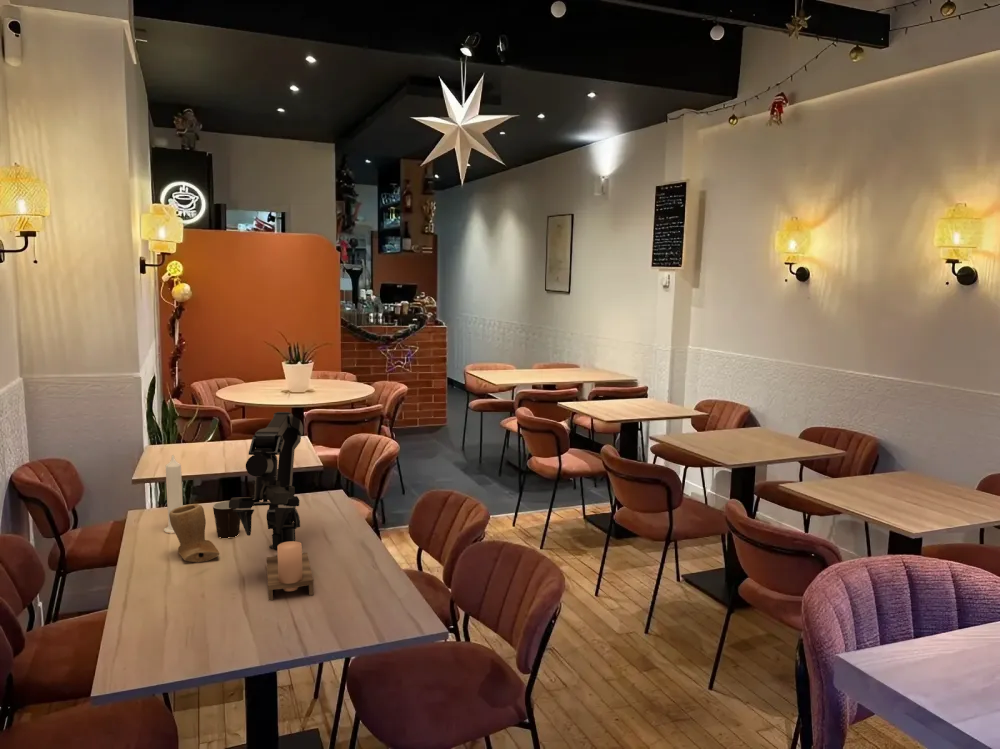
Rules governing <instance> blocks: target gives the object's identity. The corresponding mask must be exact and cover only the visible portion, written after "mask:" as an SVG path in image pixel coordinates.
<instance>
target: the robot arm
mask: <svg viewBox="0 0 1000 749" xmlns="http://www.w3.org/2000/svg"><path fill="white" fill-rule="evenodd" d="M303 434H304V425H303V423H302V421H301V419H300V418H298V417H296V416H294V414H293V412H291V411H290V412H289V411H277V412H274V413H273V418H272V419H271V420H270V422H269V423H268V425H266V427H265V428H260V429H258V430H257V431H256V432H255V433H254V434H253V435H252V438H251V442H250V446H249V450H248V455H249V456H250V457H249V458H248V459H247V460H246V463H245V470H246V472H247V473H248V474H249V475H250V476H252V477H254V480H252V482H251V483H252V485H254V495H251V497H247V496H246V497H240V496H239V497H231V498H230V500H228V501H229V508H236V509H233V511H236V513H237V514H238V516H239V518H240V523H241V524H242V526H243V529H244V531H245V534H246V536H248V537H249V536H251V535H252V534H251V533H252V516H253V513H254V512H255V509H254V508H253V509H252V507H256V506H257V507H258V506H259V507H262V506H263V507H264V506H268V509H267V511H266V524H267V530H272V534H271V535H272V536H271V538H272V543H271V544H270V545H269V548H271V549H275V550H277V546H278V545H279V544H281V543H283V542H289V541H296V529H297V528H300V527H301V519H300V515H299V511H298V510H297V507H300V498H299V496H297V495H295V493H296V491H295V490H296V489H295V486H293V475H294V464H295V463H294V461H295V450H296V449H297V447H298V446H299V445H300V443H301V440H302V436H303Z"/></svg>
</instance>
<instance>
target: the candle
mask: <svg viewBox="0 0 1000 749" xmlns="http://www.w3.org/2000/svg"><path fill="white" fill-rule="evenodd" d="M165 480H166V481H165V482H166V484H165V485H166V501H167V502H166V505H167V521H168V522H167V525H168V526H166V527H164V529H163V532H164V531H165V532H170V533H171V532H173V533H175V532H174V530H173V528H172V526H171V523H170V517H169V513H170V512H171V511H172V510H173V509H175V508H178V507H182V506H184V504H183V502H184V501H183V479H182V464H181V463H180V462H178V461H177V460H176V459H175V455H174V454H172V455H171V459H170V461H169V462H168V463H167V464H166V465H165ZM165 532H164V533H165Z"/></svg>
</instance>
